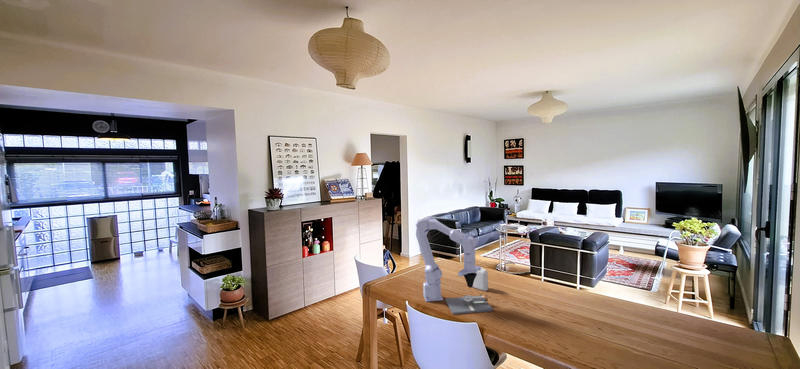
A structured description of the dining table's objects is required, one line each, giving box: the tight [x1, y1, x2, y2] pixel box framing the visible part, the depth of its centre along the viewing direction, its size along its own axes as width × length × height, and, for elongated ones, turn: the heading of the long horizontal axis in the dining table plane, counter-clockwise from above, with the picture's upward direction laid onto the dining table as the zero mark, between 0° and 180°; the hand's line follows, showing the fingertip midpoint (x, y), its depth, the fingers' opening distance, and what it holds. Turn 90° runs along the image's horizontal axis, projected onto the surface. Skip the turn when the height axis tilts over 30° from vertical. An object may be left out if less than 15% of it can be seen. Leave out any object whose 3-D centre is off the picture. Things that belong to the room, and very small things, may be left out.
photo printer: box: [472, 267, 489, 292], centre depth 181 cm, size 10×4×12 cm, turn 40°
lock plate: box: [444, 295, 494, 315], centre depth 161 cm, size 20×16×2 cm
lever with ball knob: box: [462, 294, 489, 303], centre depth 161 cm, size 13×5×2 cm, turn 90°
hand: (470, 286), depth 161 cm, fingers closed
